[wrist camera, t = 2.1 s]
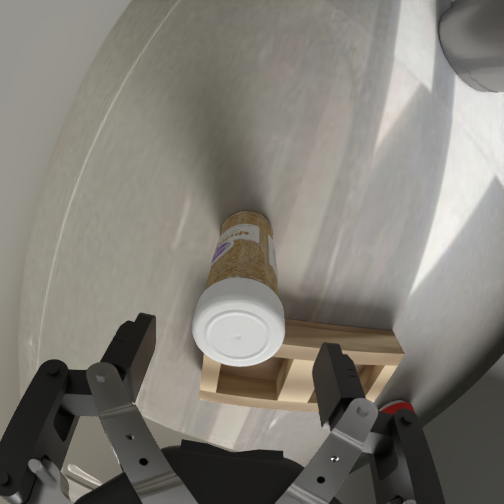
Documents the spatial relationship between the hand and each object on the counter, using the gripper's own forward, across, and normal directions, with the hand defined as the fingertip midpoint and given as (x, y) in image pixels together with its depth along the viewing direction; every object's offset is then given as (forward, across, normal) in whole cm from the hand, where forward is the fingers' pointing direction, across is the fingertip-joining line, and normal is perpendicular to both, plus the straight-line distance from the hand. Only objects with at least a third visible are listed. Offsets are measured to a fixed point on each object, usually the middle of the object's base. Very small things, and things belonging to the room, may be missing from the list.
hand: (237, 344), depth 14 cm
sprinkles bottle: (+14, 0, 0) cm, 14 cm away
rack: (+14, -8, +13) cm, 20 cm away
